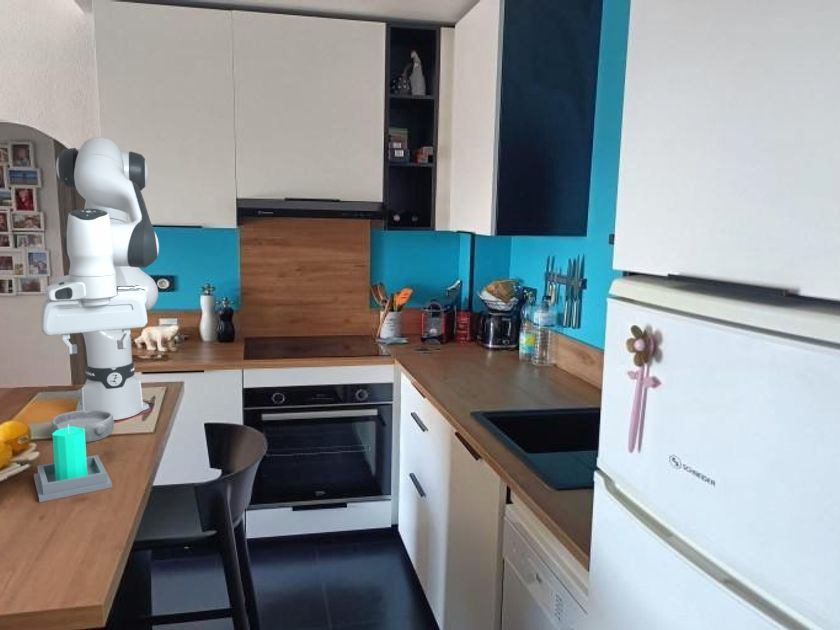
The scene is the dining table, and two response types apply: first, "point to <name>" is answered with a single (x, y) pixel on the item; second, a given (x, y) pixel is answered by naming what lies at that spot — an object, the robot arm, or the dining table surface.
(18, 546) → the dining table surface
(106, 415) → the dish
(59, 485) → the holder
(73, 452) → the candle
